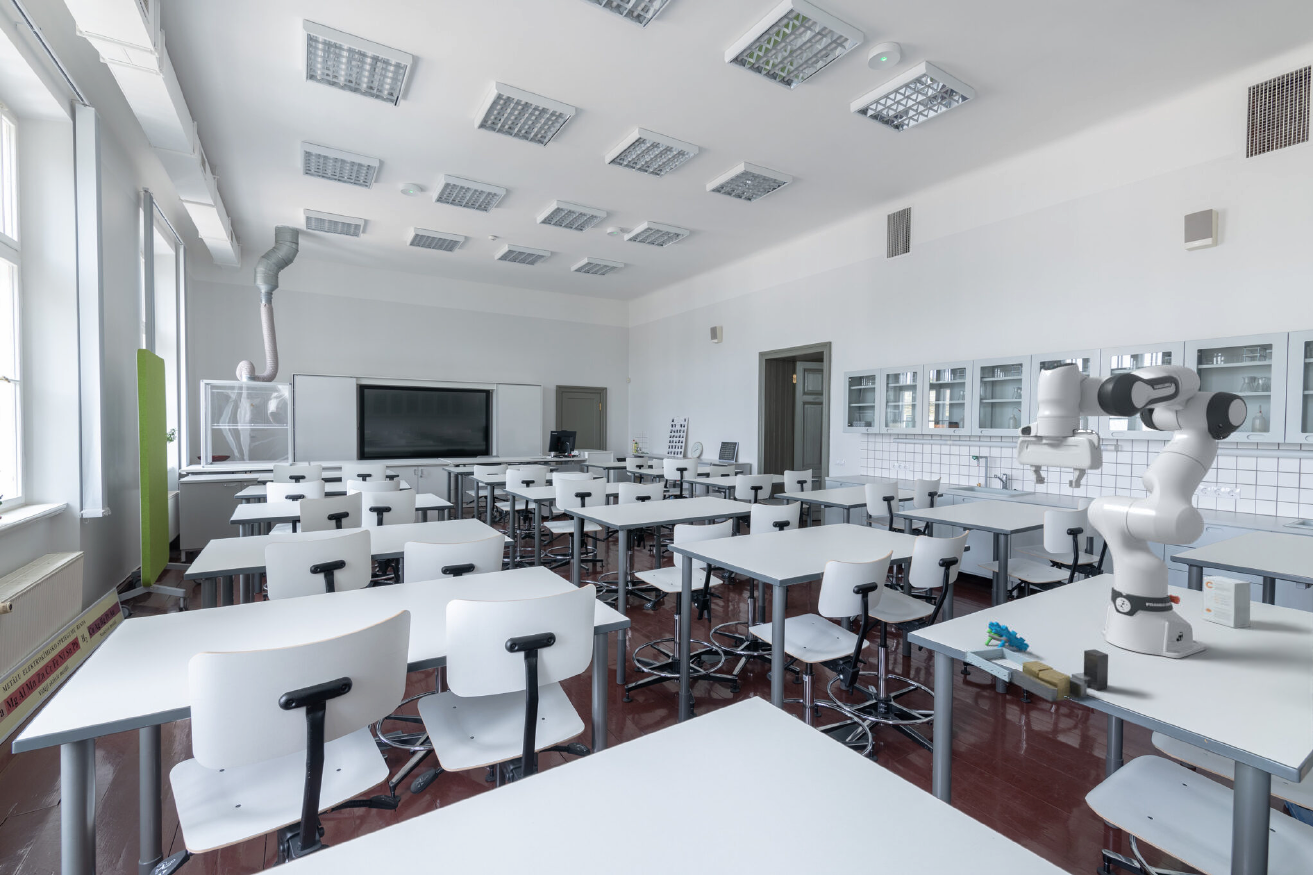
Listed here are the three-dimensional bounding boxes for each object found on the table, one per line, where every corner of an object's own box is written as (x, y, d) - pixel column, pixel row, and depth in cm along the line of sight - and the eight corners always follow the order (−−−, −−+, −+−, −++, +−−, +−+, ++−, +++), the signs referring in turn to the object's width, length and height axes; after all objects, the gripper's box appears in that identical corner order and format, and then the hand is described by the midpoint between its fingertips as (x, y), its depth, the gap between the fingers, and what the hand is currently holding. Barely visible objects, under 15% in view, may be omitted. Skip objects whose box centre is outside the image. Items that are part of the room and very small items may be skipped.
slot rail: (1044, 677, 134) (1044, 665, 133) (1086, 697, 124) (1086, 684, 124) (1010, 682, 131) (1010, 669, 131) (1051, 702, 121) (1051, 689, 121)
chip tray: (1002, 656, 146) (1002, 647, 146) (1047, 677, 134) (1047, 667, 134) (965, 661, 143) (965, 651, 143) (1007, 682, 131) (1007, 672, 131)
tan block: (1036, 678, 133) (1036, 660, 133) (1052, 685, 129) (1052, 667, 129) (1022, 679, 132) (1022, 662, 132) (1038, 687, 128) (1038, 669, 128)
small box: (1250, 627, 169) (1251, 582, 169) (1233, 628, 168) (1235, 583, 167) (1218, 618, 177) (1219, 575, 177) (1201, 619, 175) (1203, 576, 175)
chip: (1050, 686, 128) (1051, 668, 128) (1069, 694, 125) (1070, 676, 125) (1038, 689, 127) (1039, 671, 127) (1057, 697, 123) (1057, 679, 123)
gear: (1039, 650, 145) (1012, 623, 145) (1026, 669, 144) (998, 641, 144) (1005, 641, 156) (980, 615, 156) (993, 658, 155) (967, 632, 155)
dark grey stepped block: (1088, 680, 132) (1089, 645, 132) (1110, 690, 128) (1111, 654, 127) (1071, 682, 131) (1072, 647, 131) (1093, 692, 126) (1094, 656, 126)
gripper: (1110, 429, 133) (1108, 490, 133) (1032, 429, 153) (1031, 481, 153) (1088, 429, 132) (1087, 490, 132) (1012, 428, 151) (1011, 482, 152)
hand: (1056, 485), depth 143 cm, fingers open, 8 cm apart
